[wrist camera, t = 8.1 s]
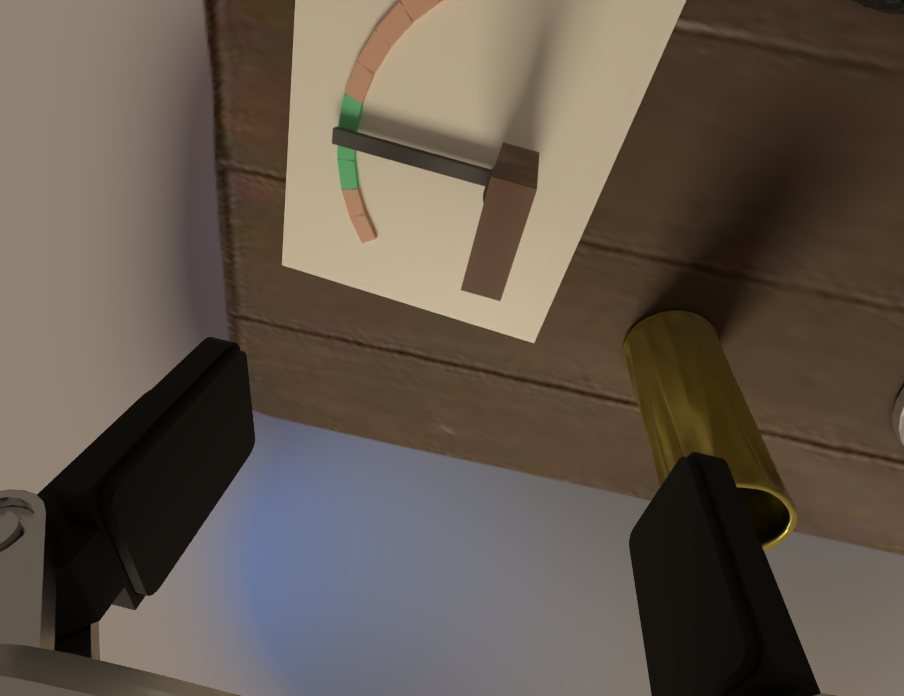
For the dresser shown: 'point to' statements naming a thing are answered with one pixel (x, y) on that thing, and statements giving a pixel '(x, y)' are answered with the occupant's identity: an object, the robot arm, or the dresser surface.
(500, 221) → the tuner needle gauge
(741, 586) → the robot arm
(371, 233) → the board
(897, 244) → the dresser surface
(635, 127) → the dresser surface
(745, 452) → the vase
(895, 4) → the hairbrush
